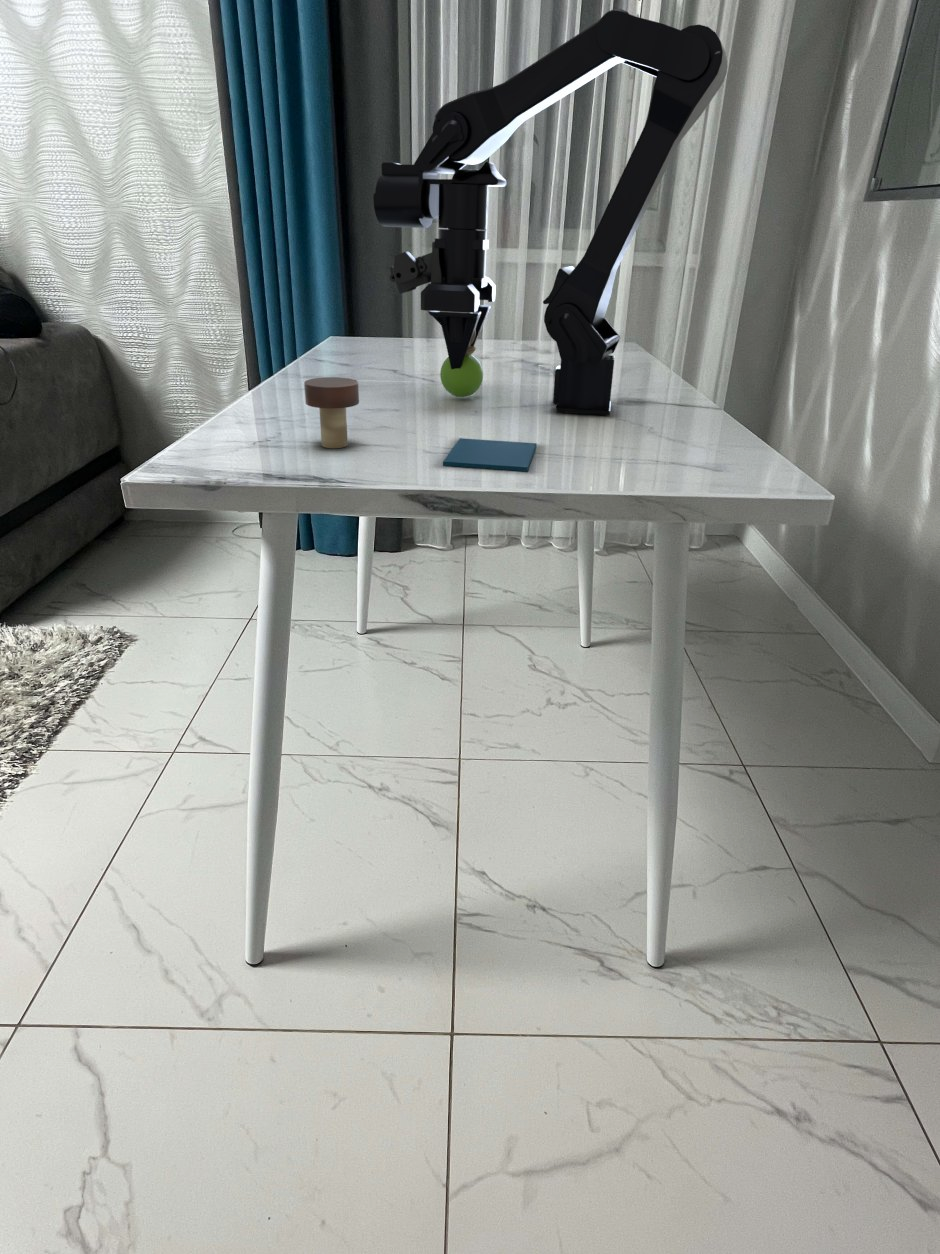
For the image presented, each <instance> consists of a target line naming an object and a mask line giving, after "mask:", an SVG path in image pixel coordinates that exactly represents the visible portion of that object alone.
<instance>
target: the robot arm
mask: <svg viewBox="0 0 940 1254" xmlns="http://www.w3.org/2000/svg"><path fill="white" fill-rule="evenodd" d="M619 64H624V65H627V66H629V67H631V68H634V69H636V70H639V71H641V72H643V73H646V74H648V75H650V76H651V77H652V76H653V77H654V78H655V81H654V83H653V88H652V92H651V97H650V102H649V106H648V111H647V116H646V120H645V123H644V126H643V128H642V130H641V133H640V135H639V137H638V139H637V141H636V144H635V145H634V148H633V150H632V152H631V154H630V156H629V158H628V161H627V162H626V165H625V167H624V169H623V171H622V173H621V176H620V177H619V179H618V182H617V184H616V187H615V188H614V191H613V193H612V194H611V197H610V199H609V202H608V204H607V206H606V207H605V210H604V212H603V214H602V217H601V218H600V221H599V223H598V225H597V227H596V229H595V231H594V233H593V236H592V238H591V240H590V242H589V244H588V246H587V249H586V250H585V253H584V254H583V256H582V258H581V259H580V261H579V262H578V264H577V265H576V266H573V265H571V266H564V267H560V268H559V269H558V270H557V273H556V276H555V279H554V283H553V286H552V289H551V291H550V292H549V294H548V296H547V297H546V298H545V299H544V300H543V301H542V304H543V305H547V306H546V309H545V311H544V315H543V322H544V326H545V328H546V332H547V334H548V335H549V337H550V338H551V339H552V340H554V342H555V343H556V347H557V350H558V355H559V357H560V365H557V366H556V367H555V369H554V381H553V394H552V395H553V397H552V398H553V399H552V403H553V405H556V406H555V412H557V413H570V414H571V413H572V414H587V415H605V416H609V415H611V409H612V408H611V407H612V401H611V397H612V389H613V388H612V386H613V378H614V369H615V368H614V367H615V357H616V356H615V355H611V354H614V353H615V351H616V349H617V347H618V344H619V342H620V340H621V335H620V334H619V333H618V332H617V330H616V328H614V327H613V326H612V324H611V322H609V320H608V319H607V318H606V313H607V310H608V307H609V304H610V300H611V298H612V297H611V296H612V293H613V288H614V283H615V278H616V275H617V271H618V268H619V267H620V264H621V262H622V260H623V258H624V256H625V255H626V252H627V250H628V248H629V246H630V243H631V242H632V240H633V238H634V236H635V234H636V232H637V230H638V227H639V226H640V223H641V221H642V220H643V218H644V215H645V213H646V211H647V210H648V207H649V205H650V204H651V201H652V199H653V197H654V195H655V194H656V191H657V189H658V187H659V185H660V183H661V181H662V179H663V177H664V174H665V173H666V172H667V169H668V167H669V164H671V163H670V162H671V161H672V158H673V156H674V155H675V152H676V151H677V149H678V146H679V144H680V143H681V141H682V140H683V139H684V138H685V136H686V135H687V134H688V133H689V131H690V130H691V128H692V127H693V126H694V125H695V123H697V121H698V120H699V118H700V117H701V116H702V115H703V113H704V112H705V111H706V109H707V108H708V106H709V105H710V104H711V102H712V100H713V99H714V97H715V96H716V94H717V93H718V91H719V90H720V88H721V87H722V85H723V83H724V82H725V80H726V76H727V73H728V59H727V54H726V50H725V48H724V46H723V44H722V41H721V39H720V38H719V36H718V34H717V33H716V32H715V30H713V29H712V28H710V27H709V26H707V25H703V24H691V25H688V26H686V27H684V28H682V29H679V28H676V27H673V26H670V25H667V24H665V23H661V22H658V21H656V20H650V19H646V18H644V17H640V16H636V15H633V14H630V13H629V12H628V11H626V10H624V9H623V8H613V9H611V10H609V11H606V13H604V14H603V15H602V16H601V17H600V18H599V20H597V21H596V22H595V23H593V24H591V25H590V26H588V27H587V28H586V29H585V28H584V30H583V31H581V32H579V33H578V34H576V35H575V36H573V37H572V38H570V39H568V40H567V41H565V42H564V43H562V44H561V45H559V46H558V47H556V48H555V49H553V50H552V51H551V52H548V53H547V54H546V55H544V56H542V57H541V58H540V59H538V60H536V61H535V62H533V63H531V64H530V65H529V66H527V67H525V68H524V69H523V70H521V71H519V72H518V73H516V74H514V75H513V76H511V77H510V78H509V79H507V80H505V81H504V82H502V83H499V84H497V85H494V86H492V87H487V88H485V89H484V88H483V89H480V90H477V91H473V92H470V93H468V94H466V95H463V96H460V97H458V98H456V99H453V100H451V101H448V102H446V103H445V104H442V106H441V107H440V108H439V109H438V110H437V112H436V113H435V114H434V120H433V124H432V133H431V135H430V137H428V139H427V142H426V143H425V145H424V146H423V148H422V150H421V151H420V153H419V154H418V157H416V160H415V161H414V163H413V164H411V163H410V164H407V163H406V164H405V163H404V164H401V163H398V162H390V161H383V162H382V163H381V164H380V166H381V168H380V169H381V174H380V175H379V177H378V178H377V180H376V185H375V191H374V192H373V196H372V197H373V199H372V200H373V208H374V214H375V217H376V220H377V221H378V222H377V223H378V224H380V226H382V227H386V228H388V227H389V228H414V229H415V228H416V229H417V228H418V229H428V228H429V227H430V226H431V225H432V223H433V220H438V227H437V228H438V229H437V230H438V231H437V232H438V233H437V238H434V240H432V241H431V252H429V253H427V254H424V255H423V254H422V255H420V256H417V257H414V255H412V253H410V251H404V252H401V253H398V254H395V255H394V256H393V263H392V264H393V265H392V266H390V267H389V272H390V275H389V280H390V282H392V283H393V284H394V286H395V289H396V292H397V295H398V296H399V295H401V294H406V293H408V292H412V291H415V290H416V289H417V288H418V287H420V286H423V285H426V284H427V285H426V286H425V287H424V288H423V289H422V290H421V291H420V311H425V312H427V313H428V315H429V316H430V317H433V319H434V320H435V321H437V323H438V324H439V325H440V326H441V330H442V329H443V331H442V335H443V334H444V335H443V338H444V342H445V346H446V352H447V356H448V357H449V361H450V366H451V369H456V368H459V369H460V368H461V366H462V364H463V361H464V359H465V356H466V353H467V350H468V348H469V345H470V342H471V339H472V337H473V334H474V331H475V328H476V336H475V339H474V341H473V343H472V344H471V345H470V346H474V347H475V345H476V342H477V341H478V338H479V335H480V334H481V331H482V329H483V326H484V324H485V321H486V319H487V316H488V314H489V312H490V310H491V305H487V304H480V302H481V301H487V302H488V303H493V302H495V301H496V293H497V292H496V290H497V285H496V284H495V282H493V280H492V279H491V278H490V277H488V276H486V263H487V262H486V261H487V250H489V249H490V246H489V245H490V239H487V237H488V236H487V234H488V231H487V230H488V204H489V187H490V188H491V187H495V188H497V187H500V188H504V187H506V186H507V179H505V178H504V177H503V175H501V174H500V172H499V171H498V170H497V167H496V165H495V163H493V162H489V161H486V160H487V159H489V158H490V157H491V156H492V155H493V154H494V153H495V152H496V151H497V150H499V149H500V148H501V147H502V146H503V145H504V144H505V143H506V142H507V141H509V139H510V138H511V136H512V135H513V134H514V133H515V132H516V130H517V129H518V128H519V127H520V126H522V124H523V123H525V122H526V121H528V120H529V119H531V118H532V117H534V116H535V115H537V114H539V113H540V112H542V111H543V110H545V109H547V108H548V107H550V106H552V105H553V104H555V103H557V102H558V101H560V100H562V99H564V98H565V97H566V96H568V95H569V94H571V93H573V92H575V91H576V90H578V89H579V88H581V87H583V86H584V85H586V84H588V83H589V82H590V81H592V80H593V79H596V78H597V77H599V76H600V75H602V74H603V73H605V72H606V71H609V70H610V69H611V68H613V67H615V66H616V65H619ZM483 162H484V164H482V166H481V167H480V168H479V169H467V168H466V169H463V168H464V167H466V166H468V165H479V164H481V163H483ZM439 174H441V175H442V174H443V175H452V177H451V178H438V175H439Z"/></svg>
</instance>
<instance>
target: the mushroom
mask: <svg viewBox="0 0 940 1254" xmlns="http://www.w3.org/2000/svg"><path fill="white" fill-rule="evenodd" d="M303 385H304V400H305V404H306V405H307V406H308V407H312V408H316V409H319V425H320V426H319V427H320V440H321V442H320V443H321V446H322V447H323V448H326V449H342V448H346V447H347V446H348V444H349V443H348V423H347V422H348V421H347V409H348V408H352V407H355V406H358V405H359V403H360V390H359V381H358V380H357V379H353V378H348V377H337V376H329V377H328V376H326V377H325V376H324V377H313V378H310V379H309V378H308V379H307V380H305V381H304V382H303Z"/></svg>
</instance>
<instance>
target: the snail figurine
mask: <svg viewBox="0 0 940 1254" xmlns="http://www.w3.org/2000/svg"><path fill="white" fill-rule="evenodd" d="M441 330H442V332H443V329H442V328H441ZM442 335H443V336H444V334H443V333H442ZM475 336H476V328H475V331H474V334H473V337H472V339H471V342H470V345H471V344H472V343H473V341H474V339H475ZM470 345H469V348H468V350H467V353H466V356H465V359H464V361H463V364H462V366H461V368H460V369H459V368H456V369H451V366H450V361H449V356H448V357H446V359H445V360H444V361H443V363H442V364H441V367H440V372H439V377H440V381H441V385H442V386H443V388H444V389H445V391H446V392H448V393H449V394H450V395H452V396H454V397H458V398H466V397H470V396H472V395H473V394H476V392H477V391H478V390H479V389H480V387H481V385H482V383H483V379H484V369H483V366H482V364H481V362H480V361H479V358H477V357H476V356H474V355H473V354H474V352H475V351H476V350H477V348H476V346H475V345H474V346H470Z"/></svg>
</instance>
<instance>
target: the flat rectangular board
mask: <svg viewBox="0 0 940 1254" xmlns="http://www.w3.org/2000/svg"><path fill="white" fill-rule="evenodd" d="M537 446H538V443H536V442H523V441H509V440H507V441H505V440H491V439H478V438H477V439H476V438H462V437H460V438H459V439H458V440H457V441H456V442H455V444H454V446H453V447H452V448H451V450H450V451H449V453H448V454H447V455H446V456H445V458H444V459H443V461H442V466H446V467H461V468H473V469H485V470H499V471H501V470H502V471H514V472H528V471H529V468H530V466H531V463H532V460H533V458H534V455H535V452H536V449H537Z"/></svg>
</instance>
